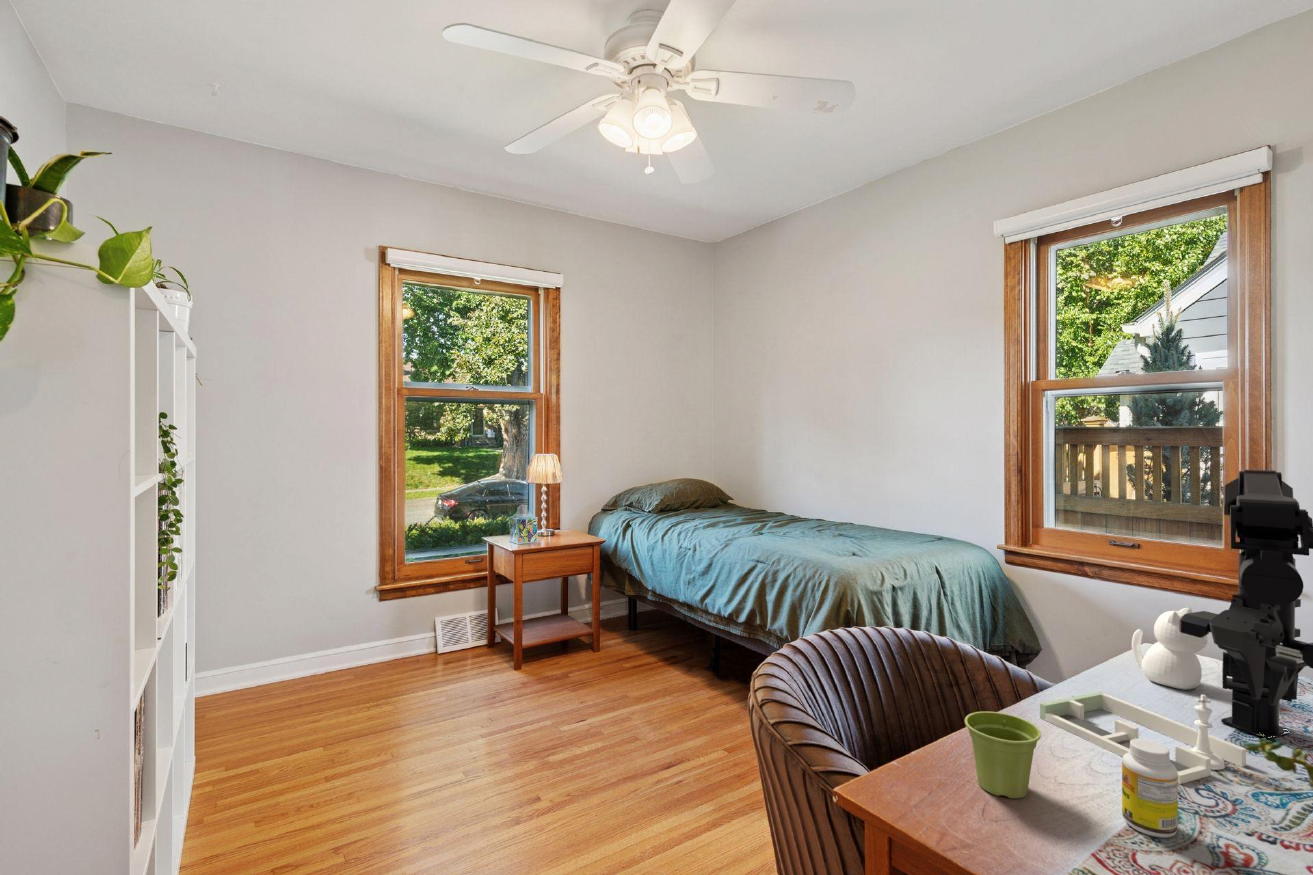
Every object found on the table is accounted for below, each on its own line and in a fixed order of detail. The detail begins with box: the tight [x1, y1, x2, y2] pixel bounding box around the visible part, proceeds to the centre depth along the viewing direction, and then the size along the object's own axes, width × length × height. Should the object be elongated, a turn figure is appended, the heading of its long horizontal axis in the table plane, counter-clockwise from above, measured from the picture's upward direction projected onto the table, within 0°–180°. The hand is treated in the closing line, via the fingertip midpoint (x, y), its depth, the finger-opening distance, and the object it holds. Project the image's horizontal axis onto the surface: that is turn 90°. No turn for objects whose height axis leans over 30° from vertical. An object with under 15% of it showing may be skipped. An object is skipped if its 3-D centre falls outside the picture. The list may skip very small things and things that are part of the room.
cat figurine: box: [1131, 607, 1209, 691], centre depth 126 cm, size 9×12×15 cm
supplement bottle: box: [1121, 738, 1179, 838], centre depth 81 cm, size 6×6×10 cm
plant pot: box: [964, 711, 1042, 799], centre depth 90 cm, size 9×9×9 cm
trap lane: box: [1039, 691, 1247, 785], centre depth 103 cm, size 14×22×2 cm, turn 19°
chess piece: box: [1189, 694, 1226, 771], centre depth 97 cm, size 5×5×10 cm
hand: (1264, 701), depth 89 cm, fingers closed
